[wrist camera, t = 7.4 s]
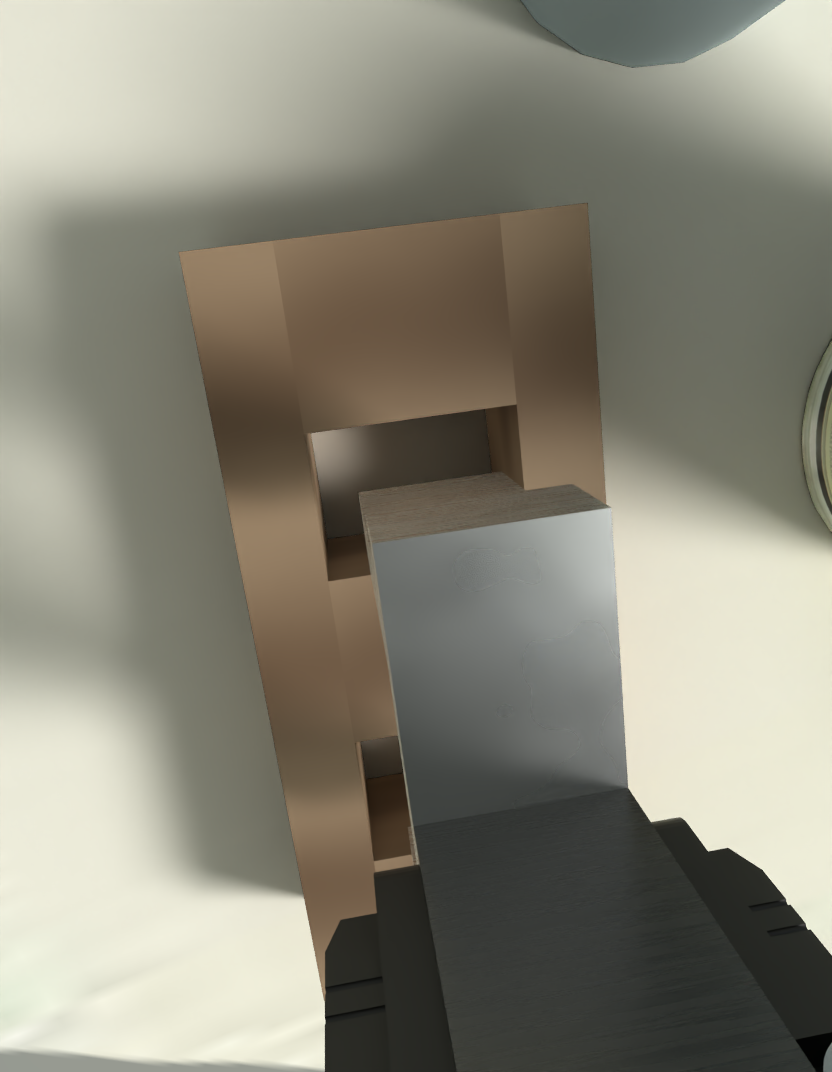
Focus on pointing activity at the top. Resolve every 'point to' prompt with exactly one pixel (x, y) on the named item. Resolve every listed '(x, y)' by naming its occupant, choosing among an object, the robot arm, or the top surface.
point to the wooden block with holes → (364, 399)
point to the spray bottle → (647, 26)
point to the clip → (542, 797)
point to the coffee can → (819, 438)
